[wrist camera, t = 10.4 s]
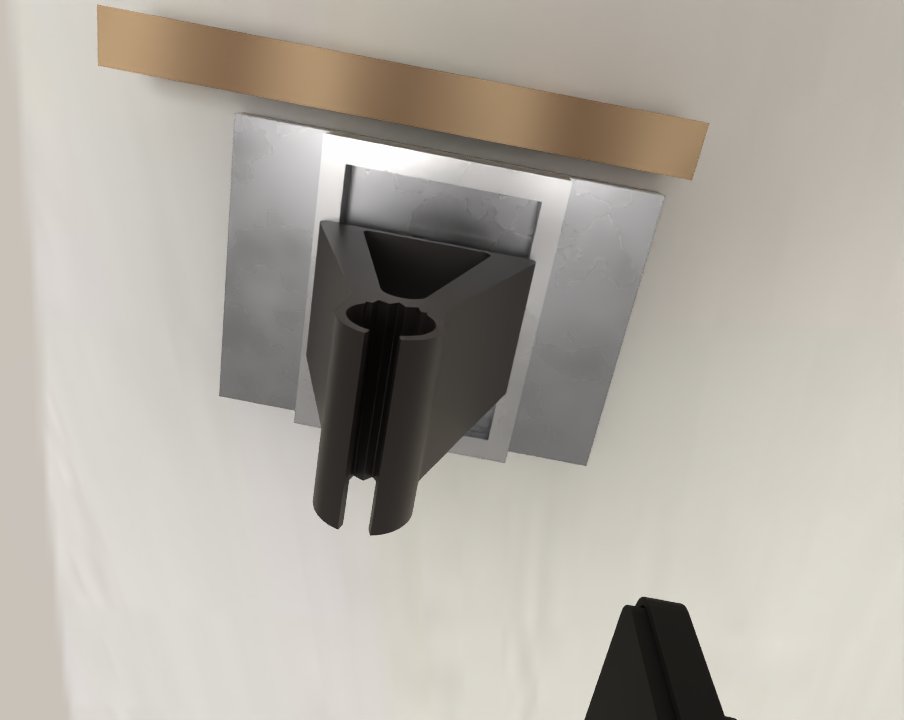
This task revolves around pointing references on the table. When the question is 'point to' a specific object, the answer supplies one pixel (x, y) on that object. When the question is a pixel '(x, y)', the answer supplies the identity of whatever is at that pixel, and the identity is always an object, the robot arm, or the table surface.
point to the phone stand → (404, 358)
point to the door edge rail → (398, 93)
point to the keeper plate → (444, 220)
